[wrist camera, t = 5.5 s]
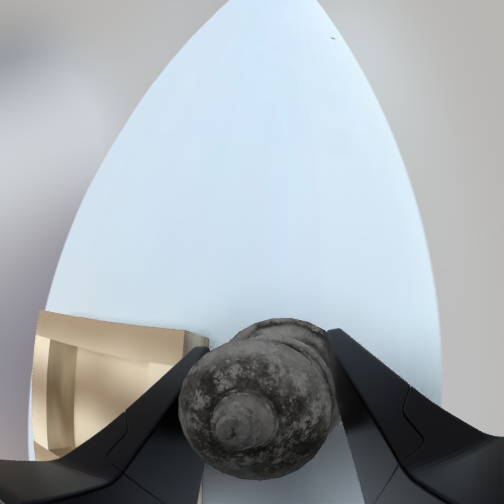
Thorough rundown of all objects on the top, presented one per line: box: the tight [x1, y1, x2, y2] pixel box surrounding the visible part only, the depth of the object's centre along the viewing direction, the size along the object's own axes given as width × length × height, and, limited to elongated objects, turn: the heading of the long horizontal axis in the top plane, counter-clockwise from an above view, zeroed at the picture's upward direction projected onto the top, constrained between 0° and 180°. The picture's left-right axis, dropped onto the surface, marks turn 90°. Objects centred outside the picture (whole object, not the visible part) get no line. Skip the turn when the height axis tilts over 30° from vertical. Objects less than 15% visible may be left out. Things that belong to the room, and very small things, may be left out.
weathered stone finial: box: [179, 318, 341, 480], centre depth 8 cm, size 6×6×12 cm
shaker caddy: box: [32, 310, 209, 504], centre depth 13 cm, size 11×11×4 cm
